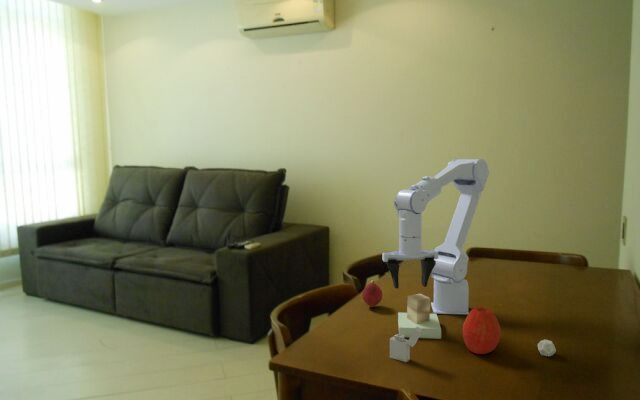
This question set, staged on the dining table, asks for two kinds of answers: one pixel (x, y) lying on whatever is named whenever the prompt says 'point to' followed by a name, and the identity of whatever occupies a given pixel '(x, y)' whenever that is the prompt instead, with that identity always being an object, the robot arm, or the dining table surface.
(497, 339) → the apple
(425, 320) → the beech block
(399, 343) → the lighter
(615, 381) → the dining table surface
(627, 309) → the dining table surface
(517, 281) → the dining table surface
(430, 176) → the robot arm
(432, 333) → the stacking block
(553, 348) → the game die
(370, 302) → the onion
